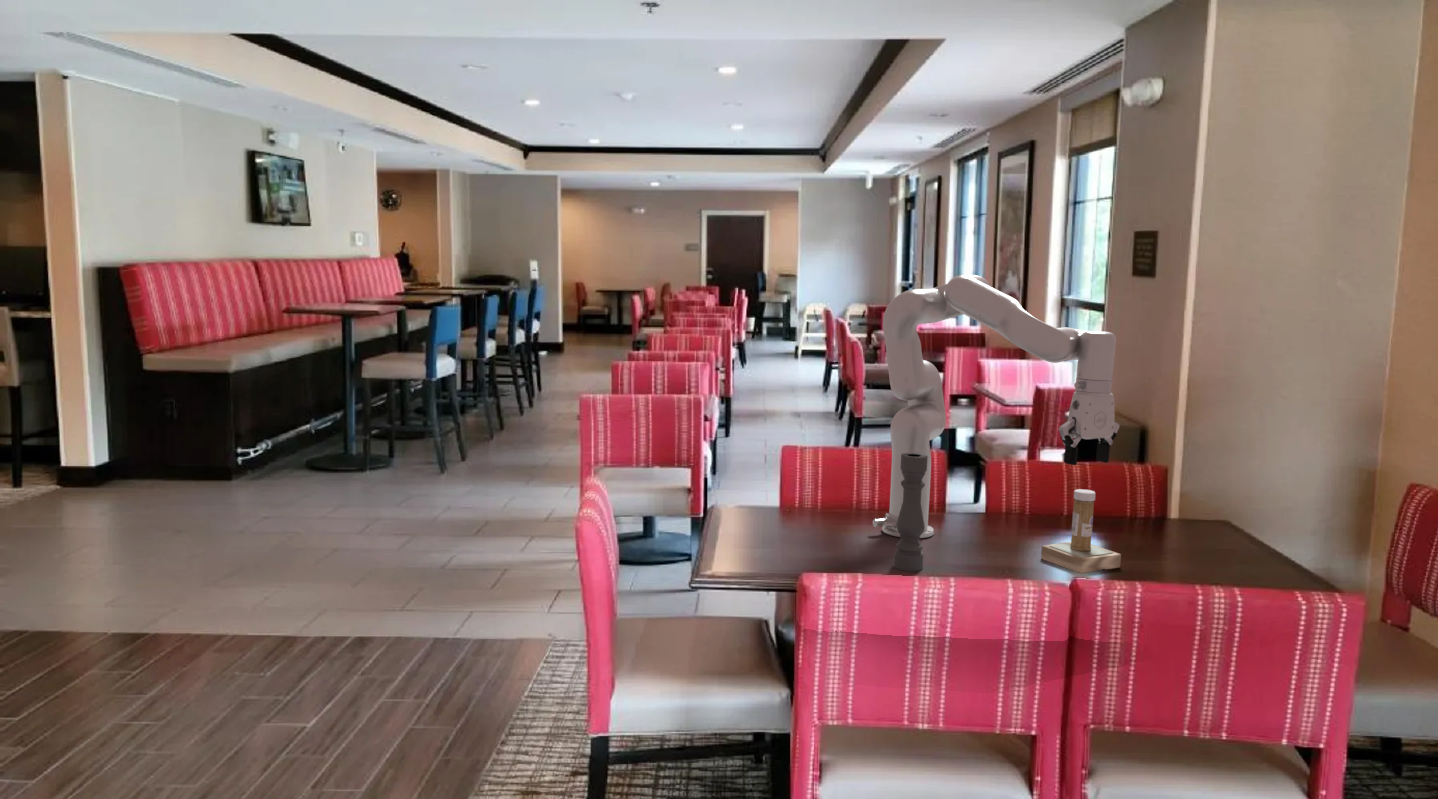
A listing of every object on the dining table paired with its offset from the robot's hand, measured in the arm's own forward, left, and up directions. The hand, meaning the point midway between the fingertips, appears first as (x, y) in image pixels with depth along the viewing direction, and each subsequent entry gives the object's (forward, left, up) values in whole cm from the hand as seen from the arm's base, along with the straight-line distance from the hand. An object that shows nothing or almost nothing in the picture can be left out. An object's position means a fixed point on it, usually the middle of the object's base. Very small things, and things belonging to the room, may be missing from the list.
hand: (1086, 462), depth 232 cm
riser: (0, 0, -23) cm, 23 cm away
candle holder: (-39, +12, -23) cm, 47 cm away
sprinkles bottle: (0, 0, -20) cm, 20 cm away
